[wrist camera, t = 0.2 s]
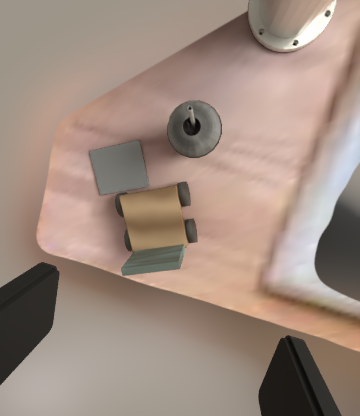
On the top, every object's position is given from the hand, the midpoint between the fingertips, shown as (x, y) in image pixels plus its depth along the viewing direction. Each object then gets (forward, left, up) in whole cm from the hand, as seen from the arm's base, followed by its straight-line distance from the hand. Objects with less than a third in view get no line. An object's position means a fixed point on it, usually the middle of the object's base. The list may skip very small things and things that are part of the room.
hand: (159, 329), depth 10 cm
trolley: (+3, -9, -36) cm, 37 cm away
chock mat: (-7, -14, -36) cm, 40 cm away
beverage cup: (-10, +1, -36) cm, 38 cm away
